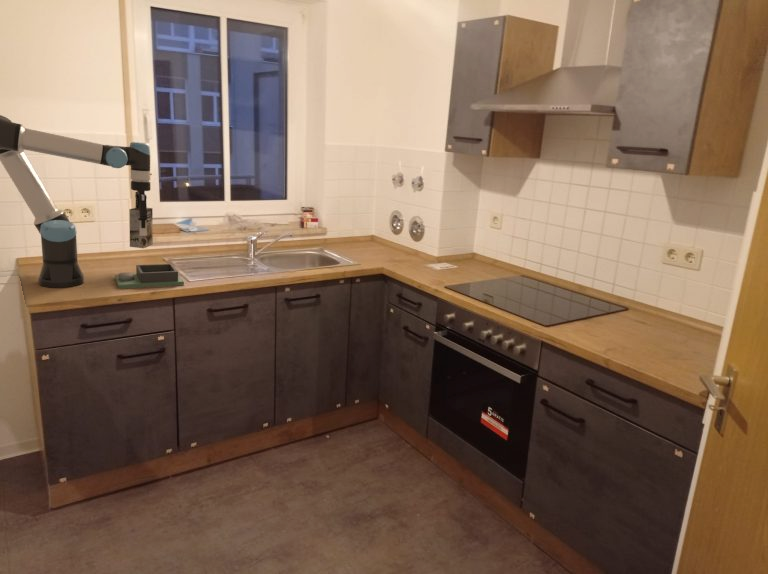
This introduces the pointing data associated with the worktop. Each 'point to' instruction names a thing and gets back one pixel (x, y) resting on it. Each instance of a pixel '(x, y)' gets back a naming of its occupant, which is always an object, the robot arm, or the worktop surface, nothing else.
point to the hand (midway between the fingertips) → (141, 233)
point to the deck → (150, 277)
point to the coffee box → (134, 229)
